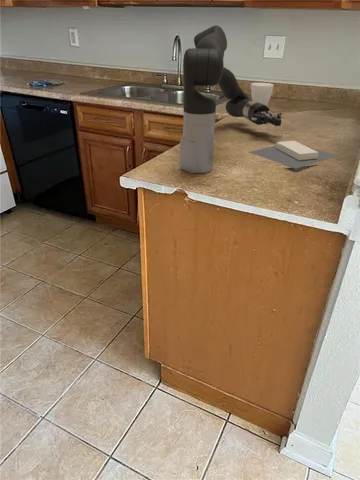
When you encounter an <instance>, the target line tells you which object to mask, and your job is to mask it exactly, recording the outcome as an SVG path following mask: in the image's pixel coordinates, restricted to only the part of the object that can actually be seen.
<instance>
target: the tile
mask: <svg viewBox="0 0 360 480" xmlns="http://www.w3.org/2000/svg"><path fill="white" fill-rule="evenodd" d="M275 145H276V148H277V149H278V150H280V151H282V152H284V153H286V154H288V155H289V156H291V157H293V158H295V159H297V160H299V161H301V160H310V159H316V158H318V153H319V152H317V151H315V150H313V149H311V148H312V147H310V146H307V147H306V145H304V144H302V143H301V142H298V141H296V140H285V141H277V142H276V144H275ZM309 147H310V148H309Z"/></svg>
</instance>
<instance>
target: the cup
mask: <svg viewBox="0 0 360 480" xmlns="http://www.w3.org/2000/svg"><path fill="white" fill-rule="evenodd" d="M273 89H274V84H273V83H268V82H252V83H251V84H250V92H251V100H252V101H256V102H259V103H261V104H264V105H266V106H267V107H268V104H269V102H270V99H271V97H272V93H273Z"/></svg>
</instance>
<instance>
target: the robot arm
mask: <svg viewBox="0 0 360 480" xmlns="http://www.w3.org/2000/svg"><path fill="white" fill-rule="evenodd" d="M193 38H194V39H193V43H194V47H195V48H187V49H186V50H185V51H184V54H183V57H182V58H183V61H182V74H183V75H182V76H183V127H182V137H180V139H179V144H180V145H179V149H180V150H179V151H180V152H179V169H180V170H182V171H185V172H187V173H189V174H191V175H194V174H206V173H210V172H212V170H213V164H214V163H213V162H214V145H215V130H216V128H215V127H216V111H217V103H216V101H215V99H212V98H211V97H207V96H206V95H203V94H202V93H200V92H199V91H198V90H197V89H196V87H197V86H198V87H199V86H200V87H202V86H203V87H212V86H213V87H215V86H217V85H218V86H219V88H220V89H219V90H221V92H222V94H223V97H224V98H225V99H227V100H228V101H226V103H225V111H226V113H227V114H228V115H229V116H231V117H233V118H245V119H247V120H248V121H250V122H252V123H254V124H255V125H258V126H261V125H267V124H268V125H273V126H275V127H281V125H282V115H283V113H282V112H279V113H277V114H275V112H272V111H271V110H270V107H268V105H267V106H266V105H264V104H261V103H259V102H256V101H252V99H250V96H248V95H247V93H246V92H244V90H243V89H242V88H241V87H240V85H239V83H238V80H237V78H236V76H235V74H234V73H233V72H232V70H230V69H228V68H226V67H225V66H224V57H225V51H226V50H227V48H228V39H227V35H226V34H225V31H224V30H223V28H222V27H221V26H220V25H212V26H210V27H209V28H207V29H204V30H203V31H201V32H199V33H197V34H196V35H195V36H194V37H193Z"/></svg>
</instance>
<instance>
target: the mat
mask: <svg viewBox="0 0 360 480" xmlns="http://www.w3.org/2000/svg"><path fill="white" fill-rule="evenodd" d="M305 146H306V145H305ZM306 147H309V148H311V149H313V150H315V151H317V152H319V153H318V158H316V159H310V160H301V161H299V160H297V159H295V158H293V157H291V156H289V155H288V154H286V153H284V152H282V151H280V150H278V149H277V148H276V144H275V145H271V146H267V147H262V148H260V149H255V150H251V151H249V153H251V154H253V155H256V156H258V157H261V158H264V159H267V160H270V161H273V162H276V163H277V164H282V165H284V166H287V168H284V169H285V170H288V171H291V172H292V173H293V172H294V173H297V172H300V171H303V169H304V170H307V169H310V167H311V168H313V166H314V167H316V166H318V164H317V163H319V162H323V161H326V160H329V159H332V158H336V157H339V155H337V154H334V153H331V152H327V151H324V150H320V149H317V148H313V147H310V146H306Z"/></svg>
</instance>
